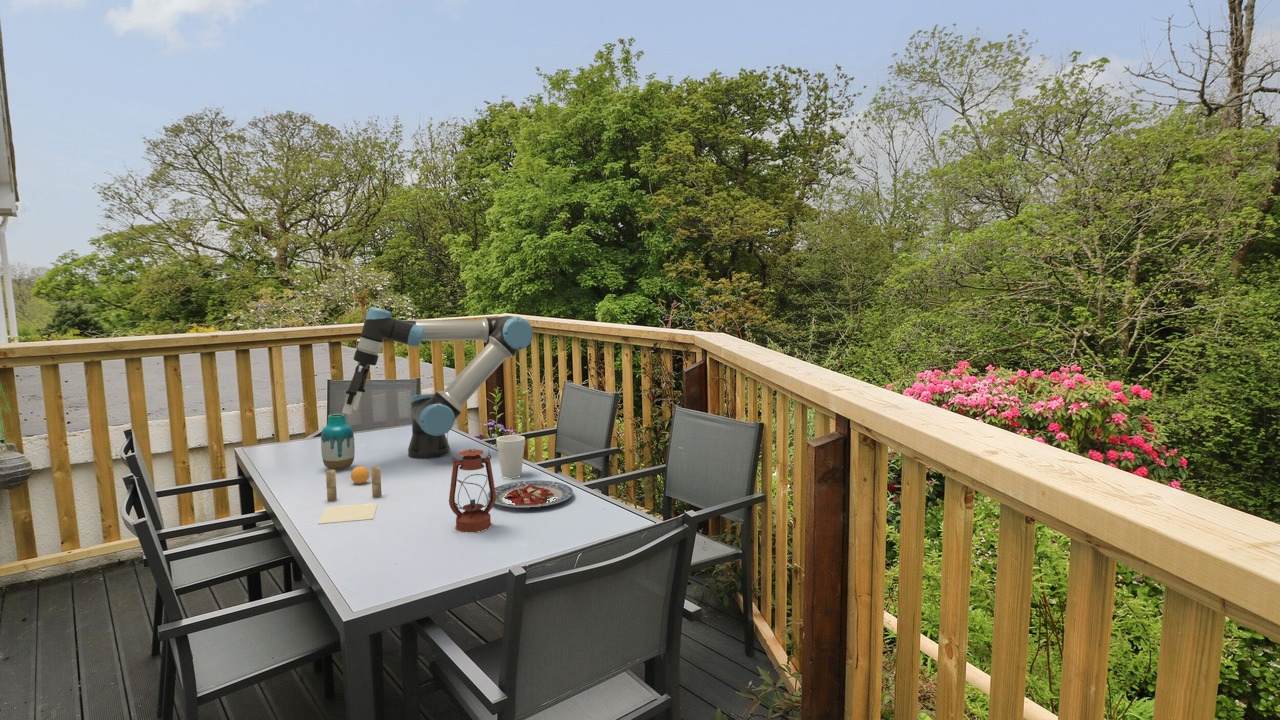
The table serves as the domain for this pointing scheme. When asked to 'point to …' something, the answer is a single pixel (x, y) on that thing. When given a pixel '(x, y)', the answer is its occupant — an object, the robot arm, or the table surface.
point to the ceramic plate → (531, 493)
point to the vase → (337, 443)
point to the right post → (376, 482)
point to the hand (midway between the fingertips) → (349, 411)
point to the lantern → (473, 515)
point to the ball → (360, 475)
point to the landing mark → (348, 513)
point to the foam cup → (511, 454)
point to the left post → (331, 485)
